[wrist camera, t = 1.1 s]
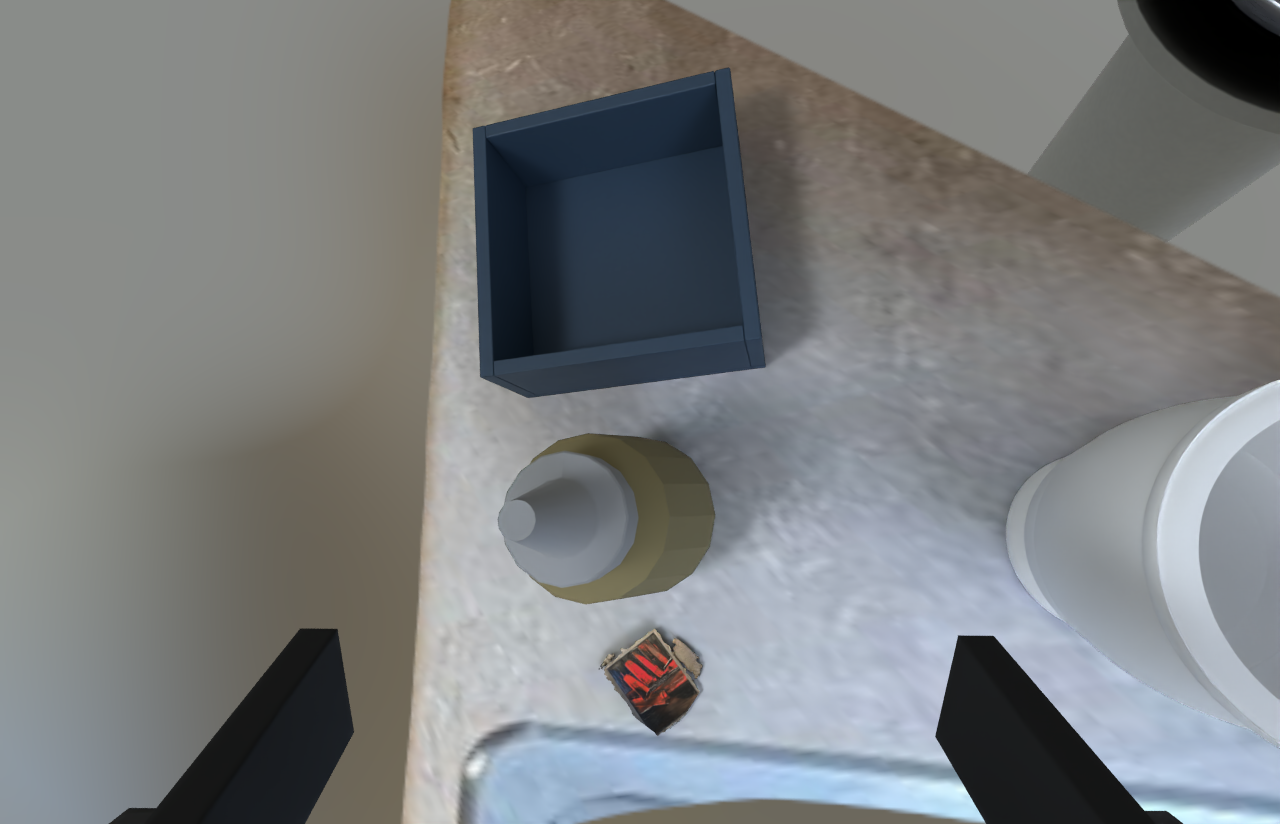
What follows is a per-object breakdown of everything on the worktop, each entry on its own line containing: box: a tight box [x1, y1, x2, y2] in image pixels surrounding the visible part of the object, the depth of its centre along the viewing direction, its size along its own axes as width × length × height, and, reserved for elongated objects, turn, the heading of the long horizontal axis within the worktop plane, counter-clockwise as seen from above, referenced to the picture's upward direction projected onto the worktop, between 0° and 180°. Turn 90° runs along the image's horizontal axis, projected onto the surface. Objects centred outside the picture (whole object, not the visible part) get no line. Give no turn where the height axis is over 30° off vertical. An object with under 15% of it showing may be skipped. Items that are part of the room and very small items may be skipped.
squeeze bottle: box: [498, 433, 715, 604], centre depth 26 cm, size 8×8×18 cm
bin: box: [473, 68, 766, 398], centre depth 34 cm, size 15×15×6 cm
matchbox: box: [599, 629, 702, 736], centre depth 33 cm, size 5×5×1 cm
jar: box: [1006, 379, 1280, 749], centre depth 22 cm, size 11×10×15 cm
